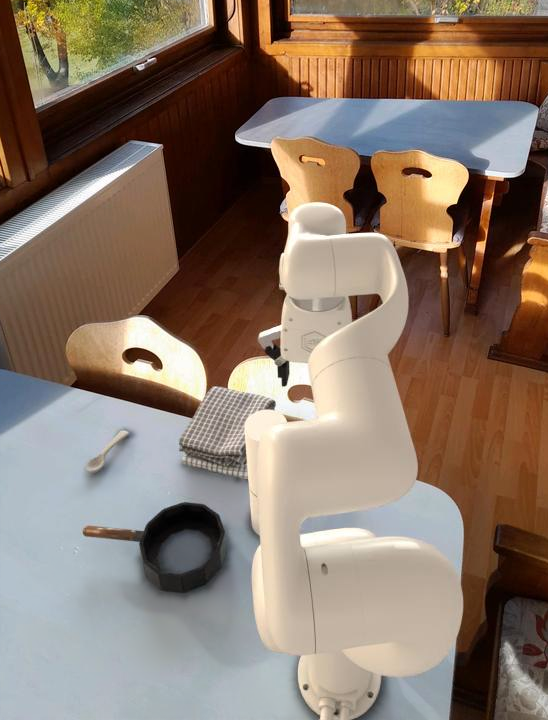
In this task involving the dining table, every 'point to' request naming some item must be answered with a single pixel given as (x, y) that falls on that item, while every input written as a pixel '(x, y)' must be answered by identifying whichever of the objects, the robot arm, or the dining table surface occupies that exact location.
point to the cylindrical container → (253, 435)
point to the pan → (161, 530)
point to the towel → (221, 431)
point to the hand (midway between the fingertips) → (317, 382)
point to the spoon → (105, 453)
